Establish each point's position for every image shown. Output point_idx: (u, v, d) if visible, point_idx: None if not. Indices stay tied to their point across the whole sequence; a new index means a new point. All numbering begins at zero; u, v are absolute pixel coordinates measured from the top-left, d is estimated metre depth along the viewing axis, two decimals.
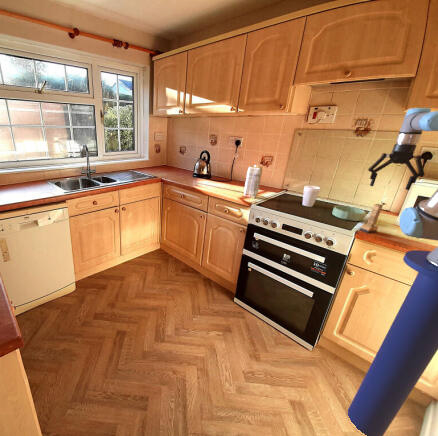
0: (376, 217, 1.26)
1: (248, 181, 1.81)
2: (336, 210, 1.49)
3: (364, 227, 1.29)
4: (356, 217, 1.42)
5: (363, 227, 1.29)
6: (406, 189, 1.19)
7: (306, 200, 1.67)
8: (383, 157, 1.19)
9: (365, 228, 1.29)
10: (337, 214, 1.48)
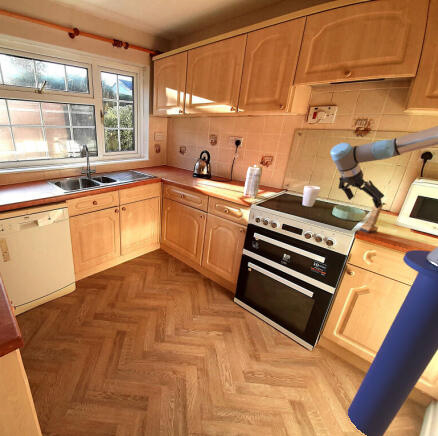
0: (376, 217, 1.26)
1: (248, 181, 1.81)
2: (336, 210, 1.49)
3: (364, 227, 1.29)
4: (356, 217, 1.42)
5: (363, 227, 1.29)
6: (352, 197, 1.27)
7: (306, 200, 1.67)
8: None
9: (365, 228, 1.29)
10: (337, 214, 1.48)
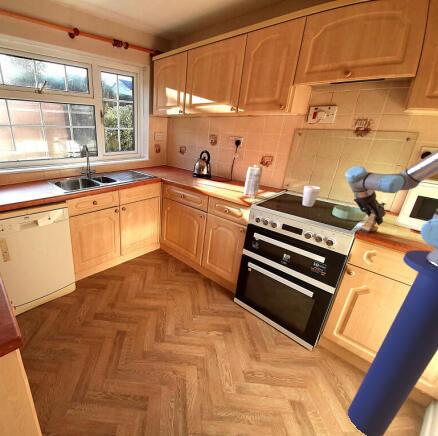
0: None
1: (248, 181, 1.81)
2: (336, 210, 1.49)
3: (364, 227, 1.29)
4: (356, 217, 1.42)
5: (363, 227, 1.29)
6: None
7: (306, 200, 1.67)
8: None
9: (365, 228, 1.29)
10: (337, 214, 1.48)
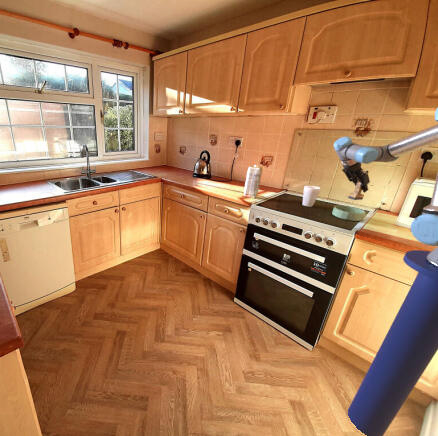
0: None
1: (248, 181, 1.81)
2: (336, 210, 1.49)
3: (351, 195, 1.43)
4: (356, 217, 1.42)
5: (350, 195, 1.43)
6: None
7: (306, 200, 1.67)
8: None
9: (352, 196, 1.43)
10: (337, 214, 1.48)
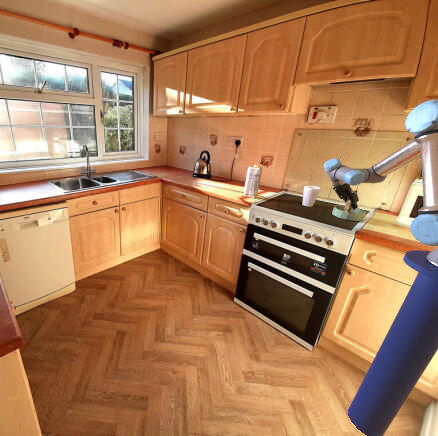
0: None
1: (248, 181, 1.81)
2: (336, 210, 1.49)
3: None
4: (356, 217, 1.42)
5: None
6: None
7: (306, 200, 1.67)
8: None
9: None
10: (337, 214, 1.48)
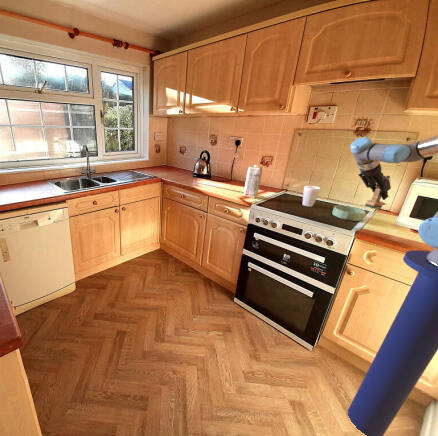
0: None
1: (248, 181, 1.81)
2: (336, 210, 1.49)
3: (369, 202, 1.27)
4: (356, 217, 1.42)
5: (368, 202, 1.28)
6: None
7: (306, 200, 1.67)
8: None
9: (370, 203, 1.27)
10: (337, 214, 1.48)
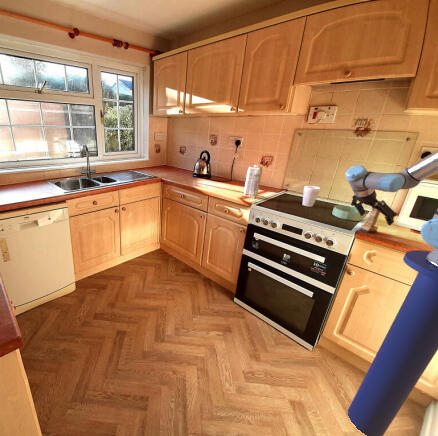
0: (376, 217, 1.26)
1: (248, 181, 1.81)
2: (336, 210, 1.49)
3: (364, 227, 1.29)
4: (356, 217, 1.42)
5: (363, 227, 1.30)
6: (364, 213, 1.34)
7: (306, 200, 1.67)
8: None
9: (365, 228, 1.29)
10: (337, 214, 1.48)
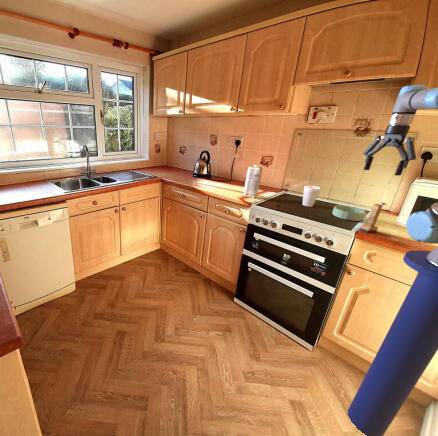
0: (376, 217, 1.26)
1: (248, 181, 1.81)
2: (336, 210, 1.49)
3: (364, 227, 1.29)
4: (356, 217, 1.42)
5: (363, 227, 1.30)
6: (367, 169, 1.22)
7: (306, 200, 1.67)
8: None
9: (365, 228, 1.29)
10: (337, 214, 1.48)
